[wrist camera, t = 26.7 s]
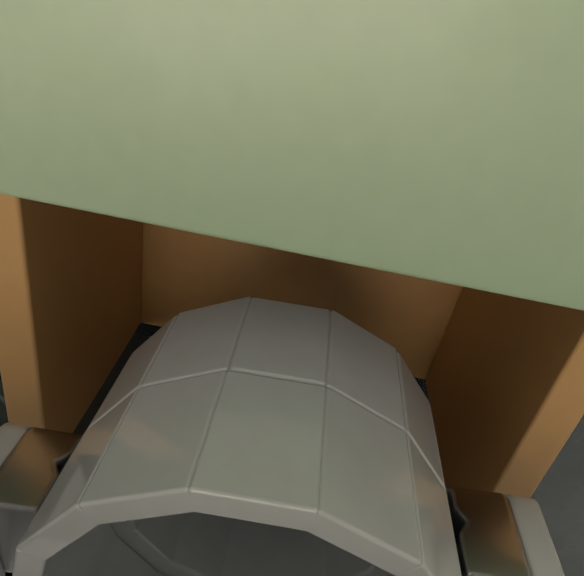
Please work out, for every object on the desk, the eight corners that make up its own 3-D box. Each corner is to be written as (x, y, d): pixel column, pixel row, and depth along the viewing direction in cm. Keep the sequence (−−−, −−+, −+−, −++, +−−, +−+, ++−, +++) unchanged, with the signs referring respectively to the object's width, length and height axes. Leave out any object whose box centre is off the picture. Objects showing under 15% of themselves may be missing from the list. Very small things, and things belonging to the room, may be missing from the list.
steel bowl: (316, 540, 13) (301, 774, 9) (86, 425, 12) (-44, 642, 8) (495, 393, 10) (582, 647, 6) (214, 218, 9) (108, 403, 5)
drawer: (407, 491, 21) (430, 704, 15) (111, 432, 21) (11, 620, 15) (644, -39, 12) (984, -60, 5) (102, -148, 12) (-189, -298, 5)
